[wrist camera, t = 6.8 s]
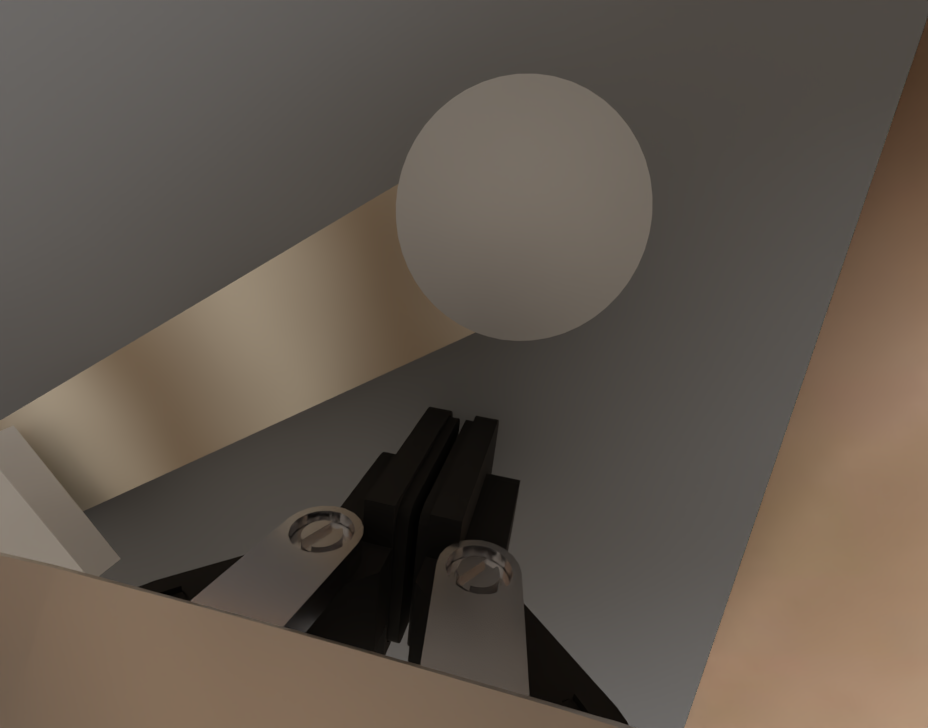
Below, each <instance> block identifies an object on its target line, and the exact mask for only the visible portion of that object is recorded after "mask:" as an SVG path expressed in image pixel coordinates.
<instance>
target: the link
mask: <svg viewBox="0 0 928 728" xmlns="http://www.w3.org/2000/svg"><path fill="white" fill-rule="evenodd" d="M397 189H398V184H397V185H396V186H394V187H392V188H390V189H389V190H387V191H385V192H384V193H382V194H380V195H379V196H377V197H375V198H374V199H372V200H370V201H369V202H367V203H365V204H364V205H362V206H360V207H359V208H357V209H355V210H353V211H352V212H350V213H348V214H347V215H345V216H343V217H342V218H340V219H338V220H337V221H335V222H333V223H332V224H330V225H328V226H327V227H325V228H323V229H322V230H320V231H318V232H316V233H315V234H313V235H311V236H310V237H308V238H306V239H305V240H303V241H301V242H300V243H298V244H296V245H295V246H293V247H291V248H290V249H288V250H286V251H285V252H283V253H281V254H279V255H278V256H276V257H274V258H273V259H271V260H269V261H268V262H266V263H264V264H263V265H261V266H259V267H258V268H256V269H254V270H253V271H251V272H249V273H248V274H246V275H244V276H242V277H241V278H239V279H237V280H236V281H234V282H232V283H231V284H229V285H227V286H226V287H224V288H222V289H221V290H219V291H217V292H216V293H214V294H212V295H211V296H209V297H207V298H205V299H204V300H202V301H200V302H199V303H197V304H195V305H194V306H192V307H190V308H189V309H187V310H185V311H184V312H182V313H180V314H179V315H177V316H175V317H174V318H172V319H170V320H168V321H167V322H165V323H163V324H162V325H160V326H158V327H157V328H155V329H153V330H152V331H150V332H148V333H147V334H145V335H143V336H142V337H140V338H138V339H136V340H135V341H133V342H131V343H130V344H128V345H126V346H125V347H123V348H121V349H120V350H118V351H116V352H115V353H113V354H111V355H110V356H108V357H106V358H105V359H103V360H101V361H99V362H98V363H96V364H94V365H93V366H91V367H89V368H88V369H86V370H84V371H83V372H81V373H79V374H78V375H76V376H74V377H73V378H71V379H69V380H68V381H66V382H64V383H62V384H61V385H59V386H57V387H56V388H54V389H52V390H51V391H49V392H47V393H46V394H44V395H42V396H41V397H39V398H37V399H36V400H34V401H32V402H31V403H29V404H27V405H25V406H24V407H22V408H20V409H19V410H17V411H15V412H14V413H12V414H10V415H9V416H7V417H5V418H4V419H2V420H0V431H1V430H4V429H6V428H9V427H11V426H13V425H14V427H15V428H16V429H17V430H18V432H19V433H20V434H21V435H22V436H23V438H24V439H25V440H26V441H27V443H28V444H29V445H30V446H31V448H32V449H33V450H34V451H35V453H36V454H37V455H38V456H39V458H40V459H41V460H42V461H43V463H44V464H45V465H46V466H47V468H48V469H49V470H50V471H51V473H52V474H53V475H54V476H55V478H56V479H57V480H58V481H59V483H60V484H61V485H62V486H63V488H64V489H65V490H66V491H67V493H68V494H69V495H70V496H71V498H72V499H73V500H74V501H75V503H76V504H77V505H78V506H79V508H80V509H81V510H82V511H85V510H87V509H89V508H92V507H94V506H96V505H98V504H100V503H103V502H105V501H107V500H109V499H111V498H114V497H116V496H118V495H120V494H122V493H124V492H127V491H129V490H131V489H133V488H135V487H138V486H140V485H142V484H144V483H146V482H149V481H151V480H153V479H155V478H157V477H160V476H162V475H164V474H166V473H168V472H171V471H173V470H175V469H177V468H179V467H181V466H184V465H186V464H188V463H190V462H192V461H195V460H197V459H199V458H201V457H203V456H206V455H208V454H210V453H212V452H214V451H217V450H219V449H221V448H223V447H225V446H228V445H230V444H232V443H234V442H236V441H238V440H241V439H243V438H245V437H247V436H249V435H252V434H254V433H256V432H258V431H260V430H263V429H265V428H267V427H269V426H271V425H274V424H276V423H278V422H280V421H282V420H284V419H287V418H289V417H291V416H293V415H295V414H298V413H300V412H302V411H304V410H306V409H309V408H311V407H313V406H315V405H317V404H320V403H322V402H324V401H326V400H328V399H331V398H333V397H335V396H337V395H339V394H341V393H344V392H346V391H348V390H350V389H352V388H355V387H357V386H359V385H361V384H363V383H366V382H368V381H370V380H372V379H374V378H377V377H379V376H381V375H383V374H385V373H387V372H390V371H392V370H394V369H396V368H398V367H401V366H403V365H405V364H407V363H409V362H412V361H414V360H416V359H418V358H420V357H423V356H425V355H427V354H429V353H431V352H434V351H436V350H438V349H440V348H442V347H444V346H447V345H449V344H451V343H453V342H455V341H458V340H460V339H462V338H464V337H466V336H469V335H471V334H473V333H475V332H473V331H471V330H469V329H467V328H465V327H463V326H461V325H459V324H458V323H456V322H455V321H453V320H452V319H450V318H449V317H447V316H446V315H445V314H444V313H442V312H441V311H440V310H439V309H438V308H437V307H435V306H434V305H433V303H432V302H431V301H430V300H429V299H428V298H427V297H426V296H425V295H424V293H423V292H422V290H421V289H420V287H419V286H418V285H417V283H416V282H415V280H414V278H413V276H412V274H411V272H410V271H409V269H408V267H407V264H406V261H405V259H404V256H403V254H402V250H401V246H400V242H399V238H398V232H397V225H396V198H397Z"/></svg>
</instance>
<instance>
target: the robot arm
mask: <svg viewBox="0 0 928 728" xmlns="http://www.w3.org/2000/svg"><path fill="white" fill-rule="evenodd" d="M459 426H460V419H459V418H454V417H453V413H452V411H450V410H445V409H440V408H434V407H428V409H427V410H426V412H425V413H424V414H423V416H422V417H421V419H420V420H419V422H418V423H417V424H416V426H415V427H414V429H413V430H412V432H411V433H410V435H409V436H408V437H407V439H406V440H405V442H404V443H403V445H402V446H401V447H400V449H399V450H398V452H397V453H396V454H393V453H389V452H382V453H381V454H380V455H379V457H378V458H377V459H376V461H375V462H374V463H373V464H372V466H371V467H370V468H369V470H368V471H367V472H366V474H365V475H364V476H363V478H362V479H361V480H360V482H359V483H358V484H357V486H356V487H355V488H354V490H353V491H352V492H351V494H350V495H349V496H348V498H347V499H346V500H345V502H344V503H343V504H342V506H341V507H336V506H317V507H311V508H307V509H305V510H302V511H299V512H297V513H296V514H294V515H292V516H291V517H289V518H288V519H287V520H286V521H284V522H283V523H282V524H281V525H280V526H278V527H277V528H276V529H275V530H274V531H273V532H271V533H270V534H269V535H268V536H267V537H265V538H264V539H263V540H262V541H261V542H259V543H258V544H257V545H256V546H255V547H254V548H252V549H251V550H250V551H249V552H248V553H246V554H245V555H243V556H239V557H236V558H232V559H228V560H225V561H221V562H218V563H214V564H211V565H207V566H204V567H200V568H197V569H193V570H190V571H186V572H183V573H179V574H176V575H172V576H169V577H165V578H162V579H158V580H155V581H152V582H149V583H147V584H144V585H141V586H139V587H135V586H132V585H128V584H124V583H121V582H117V581H113V580H110V579H106V578H102V577H98V576H95V575H91V574H87V573H84V572H80V571H76V570H72V569H69V568H65V567H61V566H58V565H53V564H49V563H45V562H40V561H36V560H32V559H27V558H23V557H19V556H14V555H10V554H6V553H1V552H0V728H635V727H632V726H629V725H628V722H627V721H626V719H625V718H624V716H623V715H622V714H621V712H620V711H619V709H618V708H617V707H616V705H615V704H614V703H613V702H612V701H611V700H610V699H609V698H608V697H607V695H606V694H605V693H604V692H603V691H602V690H601V689H600V688H599V686H598V685H597V684H596V683H595V682H594V681H593V680H592V679H591V678H590V676H589V675H588V674H587V673H586V672H585V671H584V670H583V669H582V667H581V666H580V665H579V664H578V663H577V662H576V661H575V660H574V659H573V657H572V656H571V655H570V654H569V653H568V652H567V651H566V650H565V649H564V647H563V646H562V645H561V644H560V643H559V642H558V641H557V640H556V638H555V637H554V636H553V635H552V634H551V633H550V632H549V631H548V630H547V628H546V627H545V626H544V625H543V624H542V623H541V622H540V621H539V619H538V618H537V617H536V616H535V615H534V614H533V613H532V612H531V611H530V609H529V608H528V607H527V606H526V605H525V604H524V600H523V584H522V573H521V569H520V565H519V563H518V562H517V561H516V559H515V558H514V556H513V555H512V554H510V553H509V552H508V548H509V543H510V538H511V533H512V527H513V521H514V516H515V510H516V504H517V498H518V493H519V487H520V480H517V479H512V478H507V477H503V476H498V475H493V474H492V467H493V460H494V453H495V447H496V440H497V433H498V426H499V420H497V419H491V418H486V417H481V416H475V418H474V420H473V421H470V420H466V421H465V422H464V424H463V426H462V428H461V431H460V433H459ZM458 434H459V435H458ZM408 623H409V630H408V640H407V645H408V646H409V655H408V662H407V661H404V660H400V659H397V658H393V657H390V656H386V653H387V650H388V648H389V646H390V643H391V641H392V642H395V643H400V642H401V640H402V638H403V636H404V633H405V631H406V628H407V626H408Z"/></svg>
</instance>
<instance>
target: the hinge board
mask: <svg viewBox="0 0 928 728" xmlns="http://www.w3.org/2000/svg"><path fill="white" fill-rule="evenodd" d="M927 18H928V0H0V420H2V419H4V418H5V417H7V416H9V415H10V414H12V413H14V412H15V411H17V410H19V409H20V408H22V407H24V406H25V405H27V404H29V403H31V402H32V401H34V400H36V399H37V398H39V397H41V396H42V395H44V394H46V393H47V392H49V391H51V390H52V389H54V388H56V387H57V386H59V385H61V384H62V383H64V382H66V381H68V380H69V379H71V378H73V377H74V376H76V375H78V374H79V373H81V372H83V371H84V370H86V369H88V368H89V367H91V366H93V365H94V364H96V363H98V362H99V361H101V360H103V359H105V358H106V357H108V356H110V355H111V354H113V353H115V352H116V351H118V350H120V349H121V348H123V347H125V346H126V345H128V344H130V343H131V342H133V341H135V340H136V339H138V338H140V337H142V336H143V335H145V334H147V333H148V332H150V331H152V330H153V329H155V328H157V327H158V326H160V325H162V324H163V323H165V322H167V321H168V320H170V319H172V318H174V317H175V316H177V315H179V314H180V313H182V312H184V311H185V310H187V309H189V308H190V307H192V306H194V305H195V304H197V303H199V302H200V301H202V300H204V299H205V298H207V297H209V296H211V295H212V294H214V293H216V292H217V291H219V290H221V289H222V288H224V287H226V286H227V285H229V284H231V283H232V282H234V281H236V280H237V279H239V278H241V277H242V276H244V275H246V274H248V273H249V272H251V271H253V270H254V269H256V268H258V267H259V266H261V265H263V264H264V263H266V262H268V261H269V260H271V259H273V258H274V257H276V256H278V255H279V254H281V253H283V252H285V251H286V250H288V249H290V248H291V247H293V246H295V245H296V244H298V243H300V242H301V241H303V240H305V239H306V238H308V237H310V236H311V235H313V234H315V233H316V232H318V231H320V230H322V229H323V228H325V227H327V226H328V225H330V224H332V223H333V222H335V221H337V220H338V219H340V218H342V217H343V216H345V215H347V214H348V213H350V212H352V211H353V210H355V209H357V208H359V207H360V206H362V205H364V204H365V203H367V202H369V201H370V200H372V199H374V198H375V197H377V196H379V195H380V194H382V193H384V192H385V191H387V190H389V189H390V188H392V187H394V186H396V185H397V184H398V189H397V198H396V225H397V232H398V238H399V242H400V246H401V250H402V254H403V256H404V259H405V261H406V264H407V267H408V269H409V271H410V272H411V274H412V276H413V278H414V280H415V282H416V283H417V285H418V286H419V287H420V289H421V290H422V292H423V293H424V295H425V296H426V297H427V298H428V299H429V300H430V301H431V302H432V303H433V305H434V306H435V307H437V308H438V309H439V310H440V311H441V312H442V313H444V314H445V315H446V316H447V317H449V318H450V319H452V320H453V321H455V322H456V323H458V324H459V325H461V326H463V327H465V328H467V329H469V330H471V331H473V332H475V333H473V334H471V335H469V336H466V337H464V338H462V339H460V340H458V341H455V342H453V343H451V344H449V345H447V346H444V347H442V348H440V349H438V350H436V351H434V352H431V353H429V354H427V355H425V356H423V357H420V358H418V359H416V360H414V361H412V362H409V363H407V364H405V365H403V366H401V367H398V368H396V369H394V370H392V371H390V372H387V373H385V374H383V375H381V376H379V377H377V378H374V379H372V380H370V381H368V382H366V383H363V384H361V385H359V386H357V387H355V388H352V389H350V390H348V391H346V392H344V393H341V394H339V395H337V396H335V397H333V398H331V399H328V400H326V401H324V402H322V403H320V404H317V405H315V406H313V407H311V408H309V409H306V410H304V411H302V412H300V413H298V414H295V415H293V416H291V417H289V418H287V419H284V420H282V421H280V422H278V423H276V424H274V425H271V426H269V427H267V428H265V429H263V430H260V431H258V432H256V433H254V434H252V435H249V436H247V437H245V438H243V439H241V440H238V441H236V442H234V443H232V444H230V445H228V446H225V447H223V448H221V449H219V450H217V451H214V452H212V453H210V454H208V455H206V456H203V457H201V458H199V459H197V460H195V461H192V462H190V463H188V464H186V465H184V466H181V467H179V468H177V469H175V470H173V471H171V472H168V473H166V474H164V475H162V476H160V477H157V478H155V479H153V480H151V481H149V482H146V483H144V484H142V485H140V486H138V487H135V488H133V489H131V490H129V491H127V492H124V493H122V494H120V495H118V496H116V497H114V498H111V499H109V500H107V501H105V502H103V503H100V504H98V505H96V506H94V507H92V508H89V509H87V510H85V511H82V510H81V509H80V508H79V506H78V505H77V504H76V503H75V501H74V500H73V499H72V498H71V496H70V495H69V494H68V493H67V491H66V490H65V489H64V488H63V486H62V485H61V484H60V483H59V481H58V480H57V479H56V478H55V476H54V475H53V474H52V473H51V471H50V470H49V469H48V468H47V466H46V465H45V464H44V463H43V461H42V460H41V459H40V458H39V456H38V455H37V454H36V453H35V451H34V450H33V449H32V448H31V446H30V445H29V444H28V443H27V441H26V440H25V439H24V438H23V436H22V435H21V434H20V433H19V432H18V430H17V429H16V428H15V427H14V425H13V426H11V427H9V428H6V429H4V430H1V431H0V552H1V553H6V554H10V555H14V556H19V557H23V558H27V559H32V560H36V561H40V562H45V563H49V564H53V565H58V566H61V567H65V568H69V569H72V570H76V571H80V572H84V573H87V574H91V575H95V576H98V577H102V578H106V579H110V580H113V581H117V582H121V583H124V584H128V585H132V586H135V587H139V586H141V585H144V584H147V583H149V582H152V581H155V580H158V579H162V578H165V577H169V576H172V575H176V574H179V573H183V572H186V571H190V570H193V569H197V568H200V567H204V566H207V565H211V564H214V563H218V562H221V561H225V560H228V559H232V558H236V557H239V556H243V555H245V554H246V553H248V552H249V551H250V550H251V549H252V548H254V547H255V546H256V545H257V544H258V543H259V542H261V541H262V540H263V539H264V538H265V537H267V536H268V535H269V534H270V533H271V532H273V531H274V530H275V529H276V528H277V527H278V526H280V525H281V524H282V523H283V522H284V521H286V520H287V519H288V518H289V517H291V516H292V515H294V514H296V513H297V512H299V511H302V510H305V509H307V508H311V507H317V506H336V507H341V506H342V504H343V503H344V502H345V500H346V499H347V498H348V496H349V495H350V494H351V492H352V491H353V490H354V488H355V487H356V486H357V484H358V483H359V482H360V480H361V479H362V478H363V476H364V475H365V474H366V472H367V471H368V470H369V468H370V467H371V466H372V464H373V463H374V462H375V461H376V459H377V458H378V457H379V455H380V454H381V453H382V452H389V453H393V454H396V453H397V452H398V450H399V449H400V447H401V446H402V445H403V443H404V442H405V440H406V439H407V437H408V436H409V435H410V433H411V432H412V430H413V429H414V427H415V426H416V424H417V423H418V422H419V420H420V419H421V417H422V416H423V414H424V413H425V412H426V410H427V409H428V407H434V408H440V409H445V410H450V411H452V413H453V417H454V418H459V419H460V426H459V433H460V431H461V428H462V426H463V424H464V422H465V421H466V420H470V421H473V420H474V418H475V416H481V417H486V418H491V419H497V420H499V426H498V433H497V440H496V447H495V453H494V460H493V467H492V474H493V475H498V476H503V477H507V478H512V479H517V480H520V487H519V493H518V498H517V504H516V510H515V516H514V521H513V527H512V533H511V538H510V543H509V548H508V552H509V553H510V554H512V555H513V556H514V558H515V559H516V561H517V562H518V563H519V565H520V569H521V573H522V584H523V600H524V604H525V605H526V606H527V607H528V608H529V609H530V611H531V612H532V613H533V614H534V615H535V616H536V617H537V618H538V619H539V621H540V622H541V623H542V624H543V625H544V626H545V627H546V628H547V630H548V631H549V632H550V633H551V634H552V635H553V636H554V637H555V638H556V640H557V641H558V642H559V643H560V644H561V645H562V646H563V647H564V649H565V650H566V651H567V652H568V653H569V654H570V655H571V656H572V657H573V659H574V660H575V661H576V662H577V663H578V664H579V665H580V666H581V667H582V669H583V670H584V671H585V672H586V673H587V674H588V675H589V676H590V678H591V679H592V680H593V681H594V682H595V683H596V684H597V685H598V686H599V688H600V689H601V690H602V691H603V692H604V693H605V694H606V695H607V697H608V698H609V699H610V700H611V701H612V702H613V703H614V704H615V705H616V707H617V708H618V709H619V711H620V712H621V714H622V715H623V716H624V718H625V719H626V721H627V722H628V725H629V726H632V727H635V728H684V727H685V724H686V721H687V718H688V715H689V712H690V709H691V706H692V703H693V700H694V697H695V694H696V692H697V689H698V686H699V683H700V680H701V677H702V674H703V671H704V668H705V665H706V662H707V659H708V657H709V654H710V651H711V648H712V645H713V642H714V639H715V636H716V633H717V630H718V627H719V624H720V622H721V619H722V616H723V613H724V610H725V607H726V604H727V601H728V598H729V595H730V592H731V589H732V587H733V584H734V581H735V578H736V575H737V572H738V569H739V566H740V563H741V560H742V557H743V554H744V552H745V549H746V546H747V543H748V540H749V537H750V534H751V531H752V528H753V525H754V522H755V519H756V517H757V514H758V511H759V508H760V505H761V502H762V499H763V496H764V493H765V490H766V487H767V484H768V482H769V479H770V476H771V473H772V470H773V467H774V464H775V461H776V458H777V455H778V452H779V449H780V447H781V444H782V441H783V438H784V435H785V432H786V429H787V426H788V423H789V420H790V417H791V414H792V412H793V409H794V406H795V403H796V400H797V397H798V394H799V391H800V388H801V385H802V382H803V379H804V377H805V374H806V371H807V368H808V365H809V362H810V359H811V356H812V353H813V350H814V347H815V344H816V342H817V339H818V336H819V333H820V330H821V327H822V324H823V321H824V318H825V315H826V312H827V309H828V307H829V304H830V301H831V298H832V295H833V292H834V289H835V286H836V283H837V280H838V277H839V274H840V272H841V269H842V266H843V263H844V260H845V257H846V254H847V251H848V248H849V245H850V242H851V239H852V237H853V234H854V231H855V228H856V225H857V222H858V219H859V216H860V213H861V210H862V207H863V204H864V202H865V199H866V196H867V193H868V190H869V187H870V184H871V181H872V178H873V175H874V172H875V169H876V167H877V164H878V161H879V158H880V155H881V152H882V149H883V146H884V143H885V140H886V137H887V134H888V132H889V129H890V126H891V123H892V120H893V117H894V114H895V111H896V108H897V105H898V102H899V99H900V96H901V94H902V91H903V88H904V85H905V82H906V79H907V76H908V73H909V70H910V67H911V64H912V61H913V59H914V56H915V53H916V50H917V47H918V44H919V41H920V38H921V35H922V32H923V29H924V26H925V24H926V21H927ZM458 435H459V434H458ZM408 630H409V623H408V626H407V628H406V631H405V633H404V636H403V638H402V640H401V642H400V643H395V642H392V641H391V643H390V646H389V648H388V650H387V653H386V656H390V657H393V658H397V659H400V660H404V661H407V662H408V655H409V646H408V645H407V640H408Z"/></svg>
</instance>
